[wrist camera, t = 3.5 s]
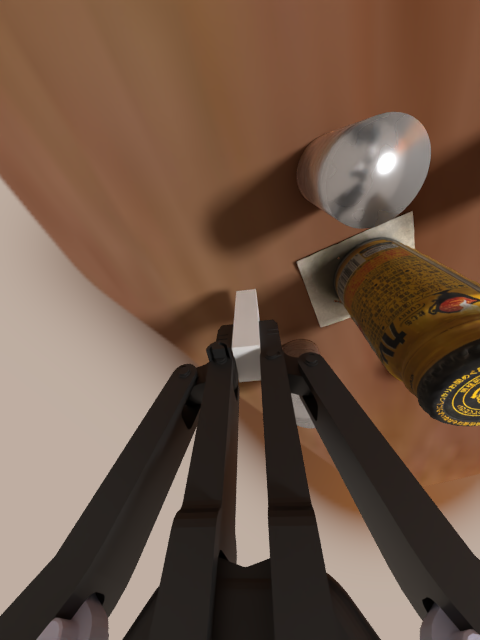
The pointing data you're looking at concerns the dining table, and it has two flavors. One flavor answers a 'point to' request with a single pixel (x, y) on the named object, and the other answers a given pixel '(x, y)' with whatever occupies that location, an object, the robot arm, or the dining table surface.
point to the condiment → (405, 314)
